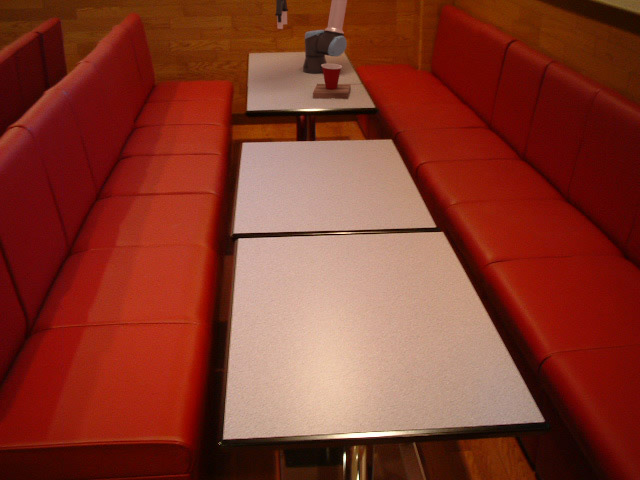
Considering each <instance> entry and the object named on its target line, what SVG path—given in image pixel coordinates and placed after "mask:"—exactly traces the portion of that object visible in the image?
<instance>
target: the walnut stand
mask: <svg viewBox="0 0 640 480" xmlns="http://www.w3.org/2000/svg"><path fill="white" fill-rule="evenodd" d="M351 87H352V85H351V84H350V83H338V86H337V89H333V90H329V89H326V86H325V83H316V86H314V90H313V92H312V98H313V99H323V100H326V99H327V100H329V98H330V99H331V98H335V99H336V100H341V99H342V100H346V99H347V100H348V99H349V97H350V93H351V90H352V88H351ZM335 99H334V100H335Z"/></svg>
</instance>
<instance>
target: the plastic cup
mask: <svg viewBox="0 0 640 480" xmlns="http://www.w3.org/2000/svg"><path fill="white" fill-rule="evenodd" d="M321 66H322V69H323V73H322V74H323V79H324V84H325V86H326V89H329V90H333V89H337V86H338V84H339V79H340V74H341V70H342V68H343V66H342V65H341V64H337V63H327V64H322V65H321Z"/></svg>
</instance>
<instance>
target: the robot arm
mask: <svg viewBox="0 0 640 480" xmlns="http://www.w3.org/2000/svg"><path fill="white" fill-rule="evenodd" d="M275 1H276V2H275V3H276V5H275V6H276V7H275V9H276V10H275V17H276V20H277V21H276V22H277V23H276V24H277V26H276V27H277V29H278V30H283V29H284V25H288V12H289V8H288V5H287V4H288V3H287V0H275ZM347 3H348V0H331V4H330V9H329V14H328V15H329V16H328V23H327V27H326V28H324V29H316V30H310V31H306V32H305V34H304V50H305V51H304V52H305V56H304V57H305V58H304V61H303V65H302V71H303V72H304V73H307V74H309V73H310V74H323V69H322V66H321V65H322V64H328V61H327V59H326V56H330V57H340V56H342V54H344V52H345V51H346V49H347V46H348V45H347V44H348V42H347V39H346V37H345V32H344V31H343V28H344V27H343V26H344V20H345V15H346V9H347Z"/></svg>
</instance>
